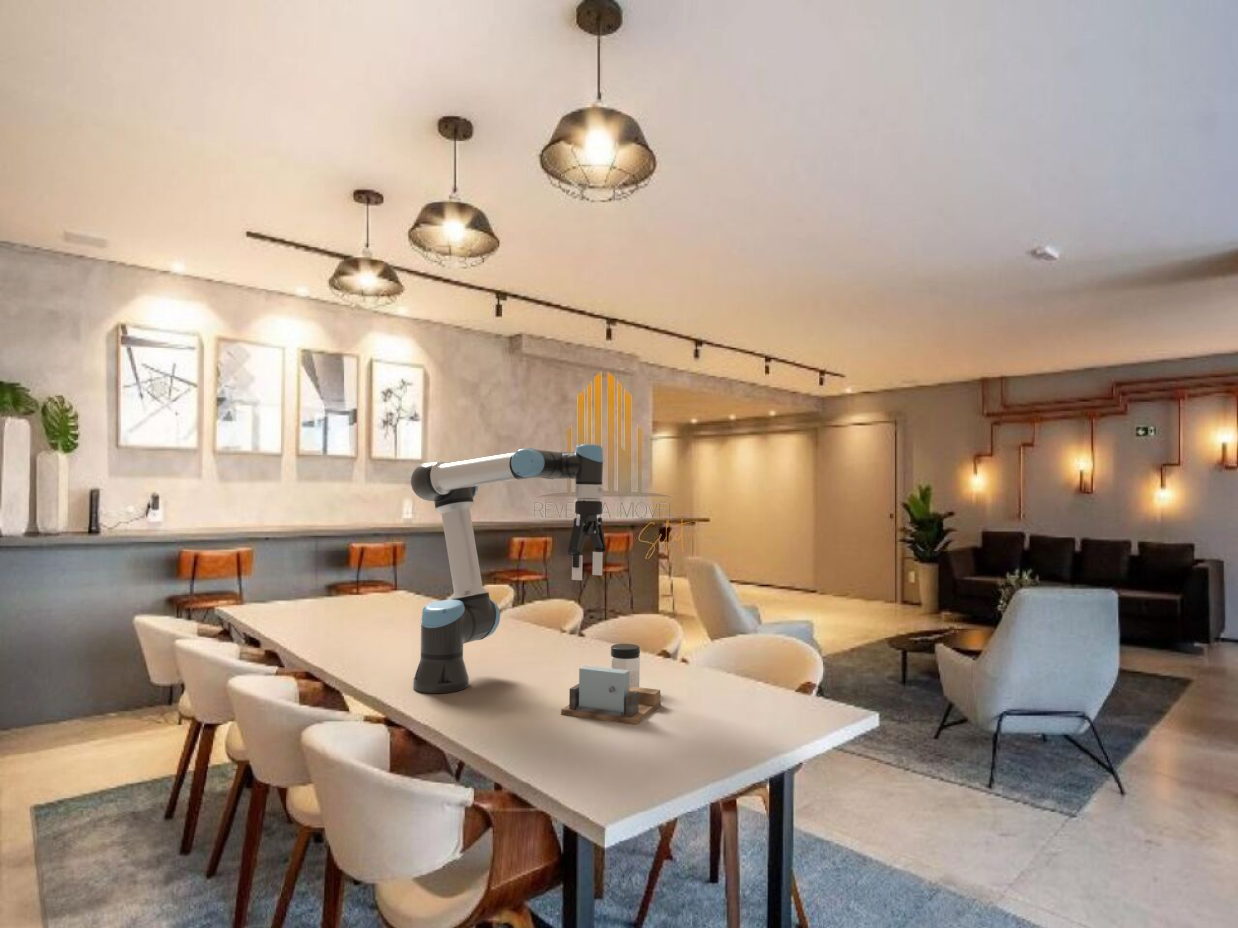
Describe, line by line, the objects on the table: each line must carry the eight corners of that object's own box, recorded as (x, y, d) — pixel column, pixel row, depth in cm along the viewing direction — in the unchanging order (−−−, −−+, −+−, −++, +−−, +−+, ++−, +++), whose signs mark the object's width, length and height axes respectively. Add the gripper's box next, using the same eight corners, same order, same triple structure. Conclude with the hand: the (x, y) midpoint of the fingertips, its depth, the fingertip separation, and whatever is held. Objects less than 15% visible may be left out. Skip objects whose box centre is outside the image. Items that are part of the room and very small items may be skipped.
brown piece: (561, 714, 178) (561, 688, 179) (590, 695, 195) (591, 672, 195) (636, 724, 171) (637, 698, 171) (660, 704, 188) (661, 680, 188)
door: (576, 710, 178) (577, 669, 178) (584, 705, 182) (585, 665, 182) (622, 716, 173) (622, 674, 174) (628, 711, 177) (629, 670, 178)
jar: (619, 695, 196) (620, 650, 197) (603, 688, 203) (604, 645, 204) (646, 690, 201) (646, 647, 202) (629, 684, 208) (630, 642, 208)
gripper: (582, 500, 186) (580, 582, 185) (618, 500, 209) (617, 573, 208) (556, 499, 189) (554, 581, 188) (594, 500, 212) (593, 572, 211)
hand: (587, 577), depth 198 cm, fingers open, 13 cm apart
